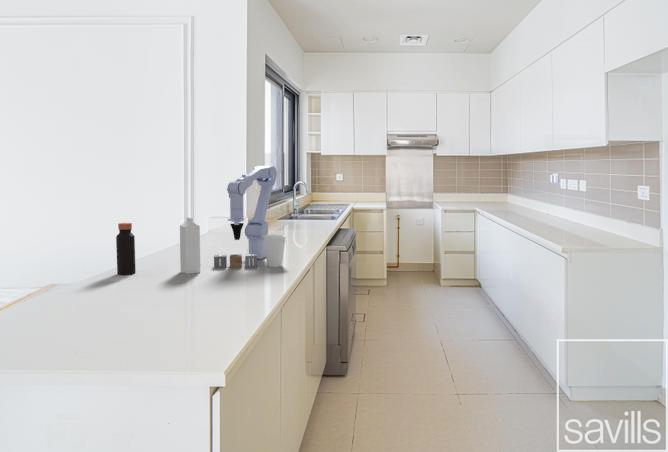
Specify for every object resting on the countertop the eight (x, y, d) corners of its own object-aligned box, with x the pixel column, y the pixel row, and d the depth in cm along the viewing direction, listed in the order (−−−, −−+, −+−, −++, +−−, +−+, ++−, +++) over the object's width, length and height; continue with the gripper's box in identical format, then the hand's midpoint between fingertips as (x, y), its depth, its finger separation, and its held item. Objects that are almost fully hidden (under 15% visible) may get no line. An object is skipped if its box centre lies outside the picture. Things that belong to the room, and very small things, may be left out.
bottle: (129, 275, 219) (128, 224, 217) (113, 274, 221) (112, 224, 219) (138, 272, 226) (137, 222, 224) (123, 271, 227) (122, 222, 225)
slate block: (245, 265, 244) (245, 254, 244) (257, 265, 245) (257, 253, 244) (245, 267, 239) (245, 256, 239) (257, 267, 240) (257, 255, 239)
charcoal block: (214, 266, 242) (214, 254, 242) (226, 266, 243) (226, 254, 242) (214, 268, 237) (213, 256, 237) (226, 268, 238) (226, 256, 237)
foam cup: (287, 264, 248) (287, 234, 247) (283, 267, 239) (283, 237, 238) (266, 263, 249) (265, 234, 248) (261, 267, 240) (261, 237, 239)
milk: (186, 274, 223) (185, 218, 221) (180, 272, 228) (179, 217, 226) (200, 272, 227) (199, 218, 225) (194, 270, 232) (193, 216, 229)
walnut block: (230, 266, 243) (230, 254, 243) (241, 265, 244) (241, 254, 243) (229, 268, 238) (229, 256, 238) (241, 267, 239) (241, 256, 238)
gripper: (228, 207, 254) (228, 237, 256) (226, 210, 240) (227, 241, 241) (244, 207, 255) (244, 237, 257) (243, 210, 241) (244, 241, 242)
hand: (237, 239), depth 249 cm, fingers closed
